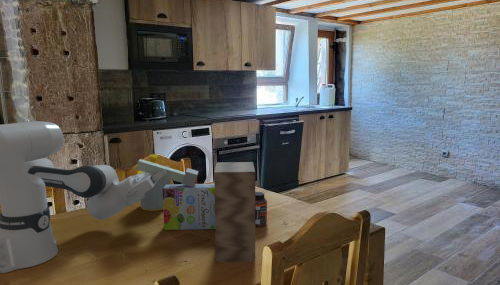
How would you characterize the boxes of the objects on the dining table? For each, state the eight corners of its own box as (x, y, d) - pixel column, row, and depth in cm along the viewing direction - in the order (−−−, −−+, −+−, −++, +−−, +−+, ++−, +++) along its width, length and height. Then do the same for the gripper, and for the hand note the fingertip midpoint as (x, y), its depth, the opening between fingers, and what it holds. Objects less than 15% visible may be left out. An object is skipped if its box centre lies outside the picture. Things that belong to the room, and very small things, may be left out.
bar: (135, 170, 119) (138, 157, 118) (139, 166, 124) (142, 154, 123) (193, 187, 121) (197, 174, 120) (194, 183, 126) (198, 171, 125)
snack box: (226, 223, 129) (225, 182, 126) (225, 229, 123) (225, 187, 120) (166, 224, 128) (165, 183, 126) (163, 230, 122) (161, 188, 120)
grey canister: (143, 213, 138) (140, 159, 135) (135, 203, 150) (132, 154, 146) (176, 207, 145) (174, 156, 141) (166, 198, 156) (164, 151, 152)
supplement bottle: (261, 228, 124) (261, 197, 122) (246, 225, 127) (246, 194, 125) (269, 222, 129) (270, 192, 127) (255, 219, 132) (255, 189, 130)
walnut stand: (216, 262, 100) (214, 172, 96) (217, 243, 112) (216, 162, 108) (255, 261, 101) (255, 171, 97) (253, 242, 113) (252, 162, 108)
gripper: (118, 190, 112) (156, 168, 111) (135, 174, 132) (167, 155, 131) (129, 207, 113) (167, 185, 112) (145, 188, 133) (177, 169, 132)
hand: (167, 169), depth 122 cm, fingers closed on bar, 3 cm apart
